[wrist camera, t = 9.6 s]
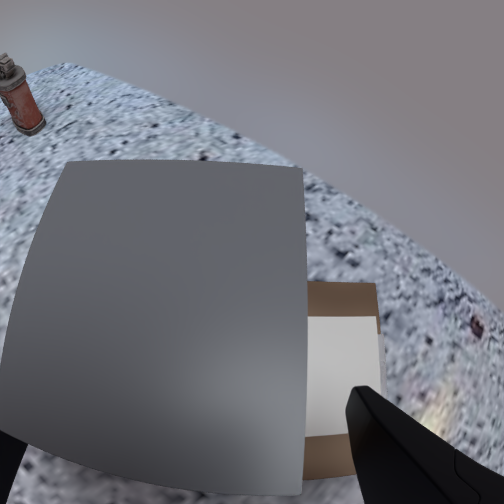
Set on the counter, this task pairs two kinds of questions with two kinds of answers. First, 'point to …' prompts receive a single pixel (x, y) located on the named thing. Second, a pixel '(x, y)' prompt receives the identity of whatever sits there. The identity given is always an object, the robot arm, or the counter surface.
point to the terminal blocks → (338, 369)
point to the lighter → (19, 98)
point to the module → (166, 325)
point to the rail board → (335, 305)
